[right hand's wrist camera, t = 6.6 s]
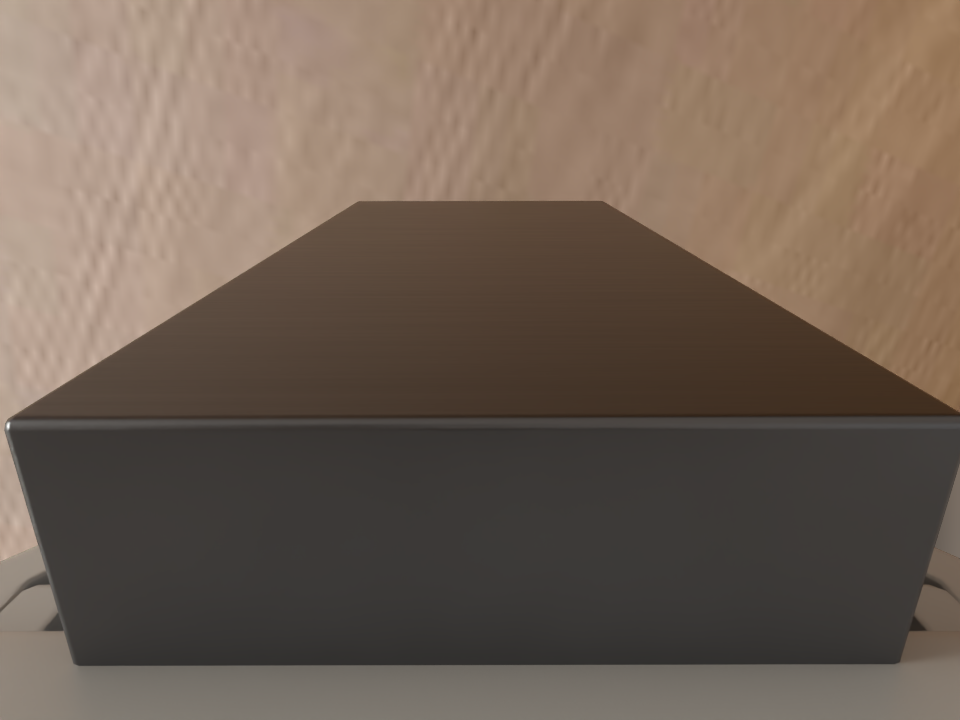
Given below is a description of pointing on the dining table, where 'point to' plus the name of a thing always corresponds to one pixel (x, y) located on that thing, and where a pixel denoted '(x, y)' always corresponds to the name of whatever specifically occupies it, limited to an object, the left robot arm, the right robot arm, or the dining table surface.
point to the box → (485, 461)
